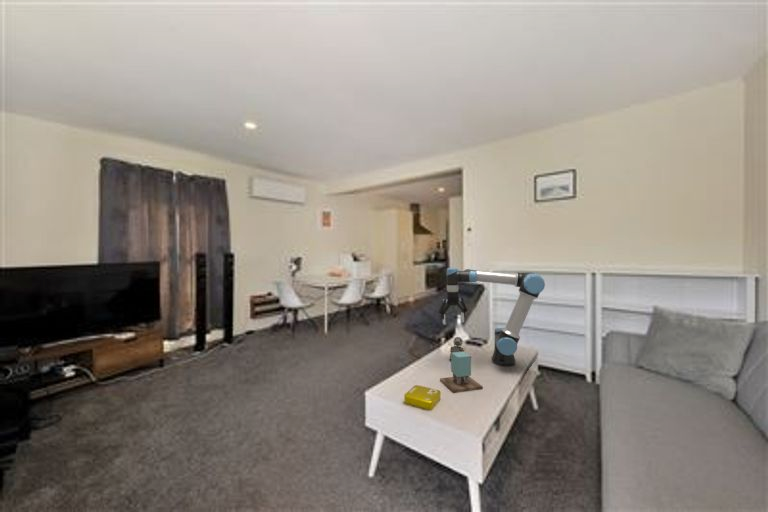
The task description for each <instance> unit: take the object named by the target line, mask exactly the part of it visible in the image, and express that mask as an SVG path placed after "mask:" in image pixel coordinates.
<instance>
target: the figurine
mask: <svg viewBox="0 0 768 512" xmlns="http://www.w3.org/2000/svg"><path fill="white" fill-rule="evenodd" d="M463 343H464V341H463V339H462V338H461V337H460V336H456V337H454V339H453V345H451V347H450V349H449V350H450V351H449V353H450V354H449V361H450V362H451V353H454V352H465V350H464V347H462V345H463Z"/></svg>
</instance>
